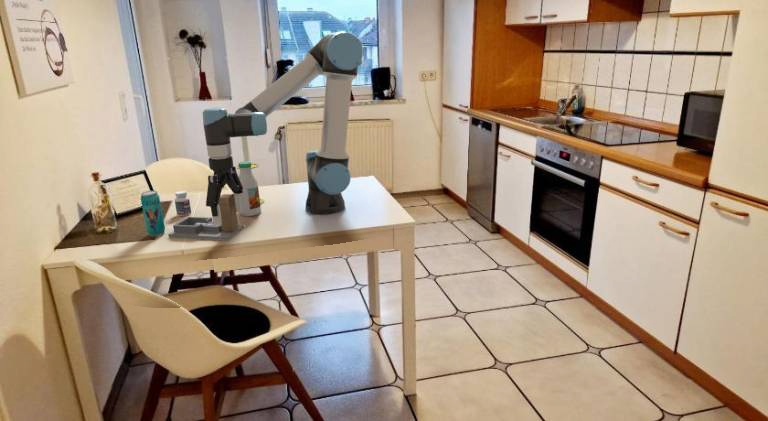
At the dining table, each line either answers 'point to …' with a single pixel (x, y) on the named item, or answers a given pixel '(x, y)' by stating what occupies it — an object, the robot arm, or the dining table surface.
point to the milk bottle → (249, 191)
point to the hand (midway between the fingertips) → (228, 218)
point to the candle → (247, 156)
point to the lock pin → (226, 214)
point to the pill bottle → (182, 204)
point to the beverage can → (152, 213)
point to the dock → (201, 230)
